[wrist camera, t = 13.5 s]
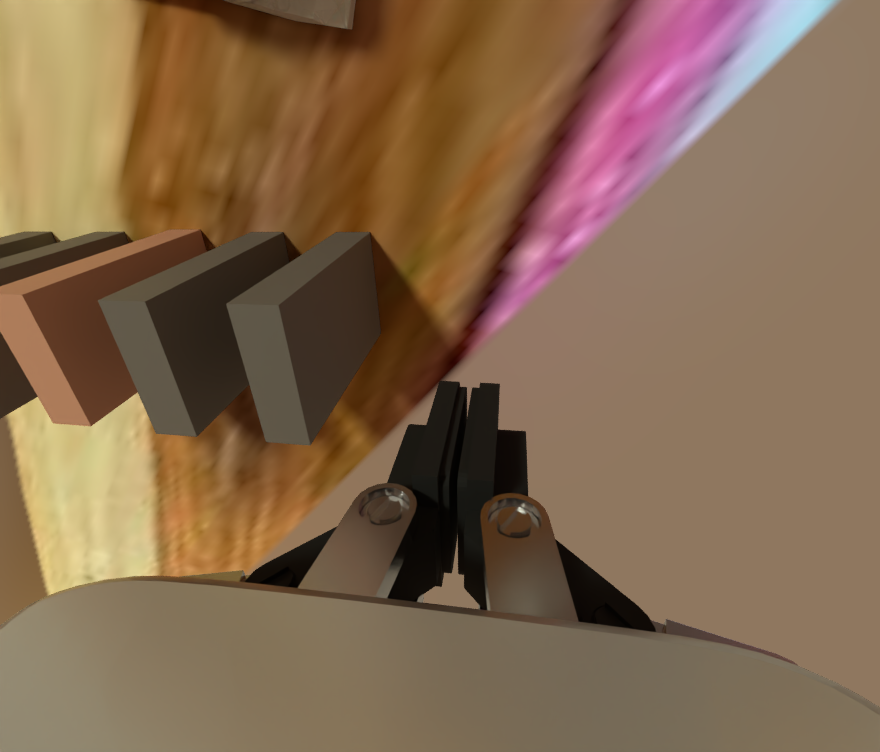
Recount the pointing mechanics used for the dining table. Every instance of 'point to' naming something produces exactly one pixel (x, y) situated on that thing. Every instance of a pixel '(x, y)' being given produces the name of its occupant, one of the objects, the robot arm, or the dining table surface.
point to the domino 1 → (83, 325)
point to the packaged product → (307, 10)
